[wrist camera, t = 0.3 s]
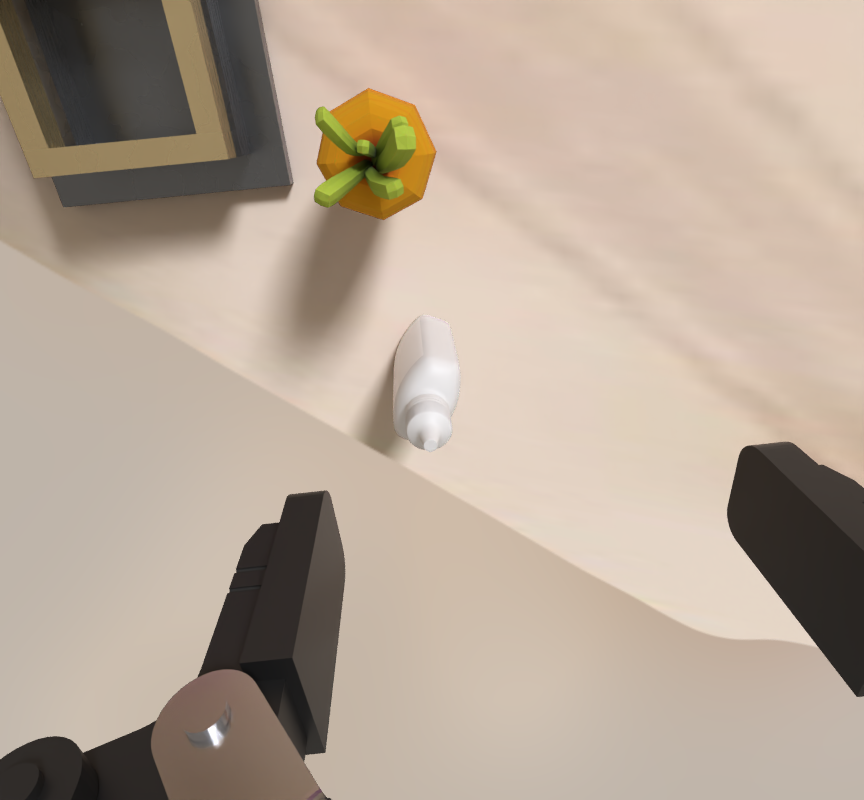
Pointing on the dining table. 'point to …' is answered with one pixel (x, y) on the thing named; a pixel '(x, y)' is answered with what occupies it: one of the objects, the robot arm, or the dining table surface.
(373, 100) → the carrot
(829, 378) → the dining table surface
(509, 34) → the dining table surface
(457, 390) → the eye dropper bottle
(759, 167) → the dining table surface
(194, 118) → the collar stand
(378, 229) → the dining table surface
